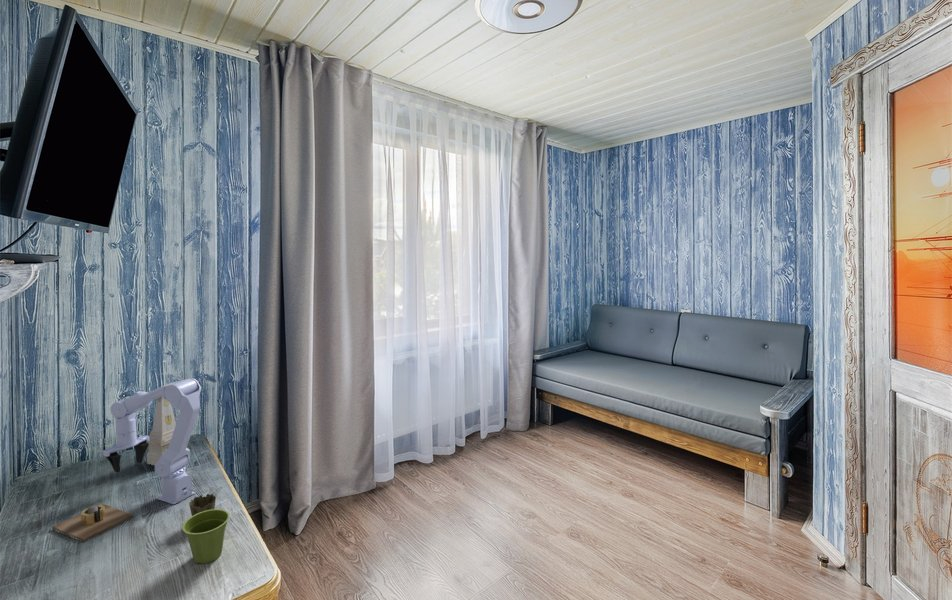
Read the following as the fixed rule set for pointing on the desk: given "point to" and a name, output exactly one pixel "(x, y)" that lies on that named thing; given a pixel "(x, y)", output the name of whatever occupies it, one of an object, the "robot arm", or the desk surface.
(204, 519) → the plant pot
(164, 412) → the miniature monument
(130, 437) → the robot arm
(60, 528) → the post stand
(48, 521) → the desk surface
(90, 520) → the brass collar
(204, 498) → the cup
